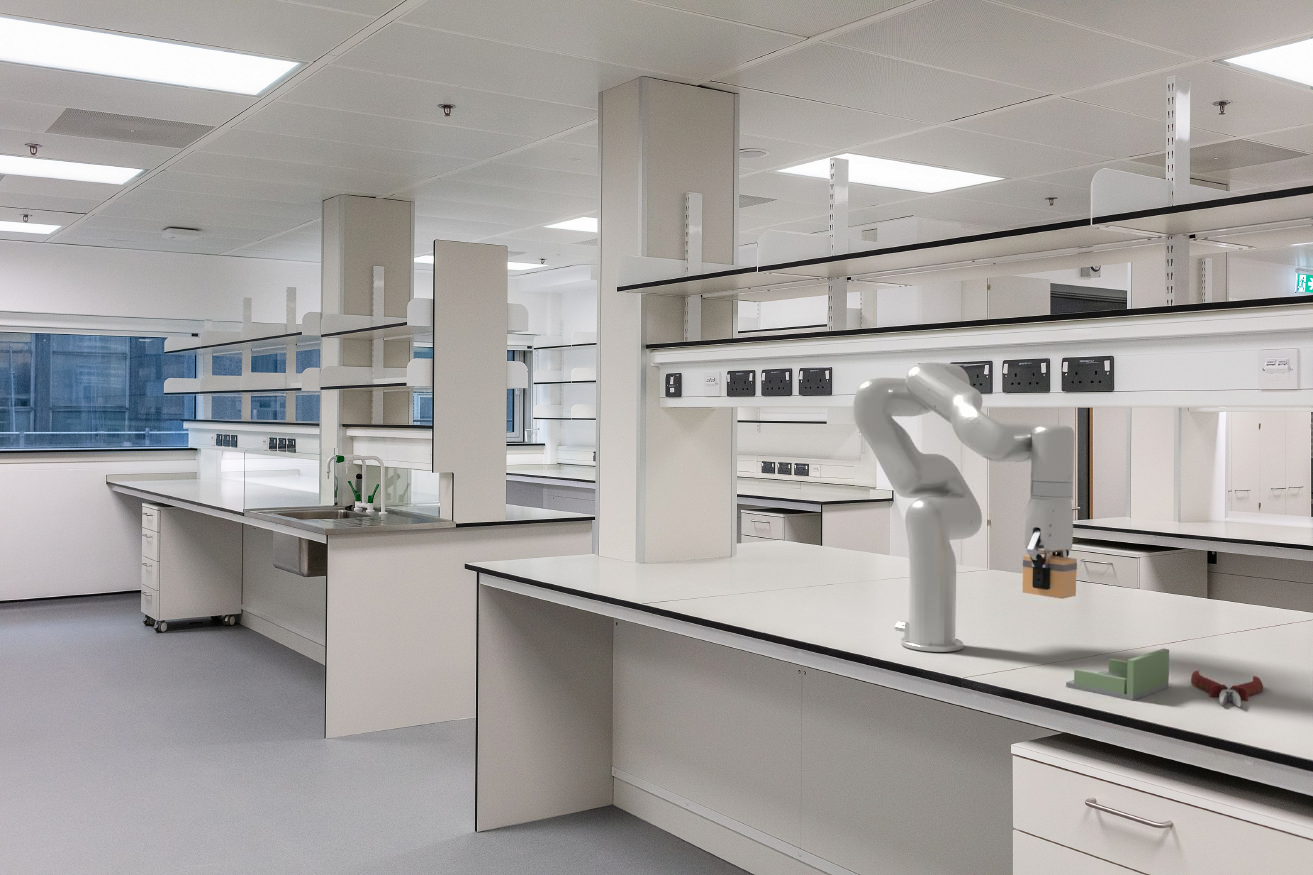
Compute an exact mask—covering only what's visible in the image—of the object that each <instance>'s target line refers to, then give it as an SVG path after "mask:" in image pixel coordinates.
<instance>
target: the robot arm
mask: <svg viewBox="0 0 1313 875" xmlns="http://www.w3.org/2000/svg"><path fill="white" fill-rule="evenodd" d="M970 383H971V381H970V377H969V375H968V373H967V371H965V369H964V368H963V367H961V366H960V365H957V364H955V363H947V362H946V363H945V362H944V363H943V362H933V361H932V362H930V361H929V362H921V363H918V364H915V365H914V366H912V367H911V368H910V369H909V371H908V372H907V374H906V375H905V378H901V377H900V378H899V377H877V378H870V379H869V380H866V381H864V382H863V383H862V384H861V385H860V386H859V387H858V389H856V392H855V395H854V398H853V406H852V408H853V409H852V410H853V417H854V421H855V424H856V426H857V428H858V430H859V432H860V434H861V435H862V437H863V438H864V440H865V442H867V444H868V445H869V447H870V448H871V450H872V452H873V453H874V456H875V458H876V460H877V461H878V464H879V465H880V467H881V469H882V470H883V472H884V474H885V476H886V478H887V479H888V481H889V483H890V485H891V487H892V489H893V490H894V491H895V493H896V494H897V495H899V496H900V497H902V498H906V499H915V500H914V501H913V502H911V503H910V504H909V506H908V507H907V509H906V512H905V517H904V523H905V530H906V535H907V541H908V552H909V582H908V583H909V588H908V590H909V594H908V595H909V596H908V598H909V599H908V600H909V601H908V610H909V611H908V621H903V620H898V621H897V623H896V625H895V626H894V630H895V631H896V632H903V633H904V636H903V637H902V638H901V640H900V641H901V642H900V643H901V645H902V646H903V647H905V648H907V649H911V650H916V651H922V652H934V653H949V652H957V651H960V650H962V649H963V648H964V643H963V641H962V640H960V639H959V638H957V637H956V631H957V630H956V620H957V619H956V618H957V614H956V613H957V612H956V611H957V610H956V609H957V561H956V555H955V552H954V550H953V547H952V544H951V541H955V540H956V541H957V540H964V539H968V538H971V537H973V536H975V535H976V534H978V532H979V531H980V529H981V527H982V524H983V515H982V510H981V506H980V505H979V503H978V500H977V499H976V497H975V495H974V493H973V492H972V489H970V487H969V485H968V484H967V482H966V480H965V478H964V476H963V475H962V474H961V472H960V470H959V469H958V468H959V467H958V466H957V465H956V464H955V463H954V462H953V461H952V460H951V459H949V458H948V457H946V456H944V455H943V454H939V453H923V452H921V451H920V450H919V449H918V448H917V446H916V445H915V443H914V441H913V440H912V438H911V436H910V434H909V433H908V432H907V430H906V429H905V428H904V427H903V426H902V425H901V424H899V423H898V422H897V421H896V420H895V419H894V418H893V417H916V416H922V415H925V414H928V413H931V412H934V413H936V414H937V415H939V417H941V418H943V419H944V420H946V422H948V423H950V424H951V425H952V426H951V427H952V429H953V431H954V433H955V435H956V437H957V439H958V440H959V441H960V442H961V443H962V444H963V445H964V446H967V448H969V449H970V450H972V451H973V452H974V453H976V454H978V455H979V456H981V457H982V458H985V459H987V460H989V461H991V462H994V463H1013V462H1014V463H1026V462H1031V464H1030V465H1031V466H1030V470H1031V471H1030V489H1029V490H1030V496H1029V500H1028V506H1027V511H1026V518H1025V519H1026V520H1025V527H1024V529H1025V530H1024V548H1025V550H1026V553H1027V555H1029V556H1030V559H1031V561H1032V567H1033V583H1032V586H1033V588H1039V589H1045V590H1048V589H1049V588H1050V568H1048V564H1049V559H1050V555H1051V556H1059V557H1067V558H1069V555H1070V552H1071V550H1072V548H1073V537H1074V522H1073V521H1074V520H1073V519H1074V518H1073V517H1074V514H1073V504H1072V501H1073V500H1074V469H1075V468H1074V467H1075V465H1074V463H1075V431H1074V429H1073V428H1072V427H1070V426H1068V425H1058V424H1057V425H1056V424H1052V425H1051V424H1049V425H1048V424H1046V425H1044V424H1043V425H1039V424H1034V423H1026V422H1025V423H1024V422H1023V423H1021V422H999V421H997V420H995V419H993V418H991V417H990V416H989V415H988V414H985V413H984V412H983V411H981V409H982V406H983V402H984V401H983V397H982V396H983V395H982V394H981V392H980V391H979V390H978V389H977V388H975V387H973V386H972V385H971V384H970ZM1041 554H1043V555H1044V559H1043V558H1042V556H1041Z"/></svg>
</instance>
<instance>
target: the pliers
mask: <svg viewBox="0 0 1313 875" xmlns="http://www.w3.org/2000/svg"><path fill="white" fill-rule="evenodd" d="M1190 682H1191V684H1192V686H1193V687H1194V688H1195V687H1196V688H1198V689H1200V690H1201V691H1204V692H1206V693H1209V697H1210V698H1218V700H1219V704H1220V706H1221V707H1222V706H1225V705H1226V704H1227V702H1232V704H1233V705H1234V706H1237V707H1239V708H1241V707H1242V701H1244V702H1247V701H1249V697H1252V696H1255V695H1259V694H1261V693H1262V692H1263V691H1264V684H1263V682H1262V681H1261V678H1260V677H1258V676H1256V675H1254V676H1253V677H1252V681H1248V682H1245V683H1241V684H1238V685H1237V684H1236V685H1232V686H1231V687H1230V688H1228V686H1227V685H1225V684H1221V683H1219V682H1217V681H1214V680H1212V679H1209V678H1208V677H1205V676H1202V675H1201V674H1200V670H1194V671H1193V672H1192V674H1191V676H1190Z"/></svg>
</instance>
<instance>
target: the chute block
mask: <svg viewBox="0 0 1313 875" xmlns="http://www.w3.org/2000/svg"><path fill="white" fill-rule="evenodd" d="M1041 556H1042V558H1043V559H1044V555H1043V554H1041ZM1022 558H1023V559H1022V591H1021V592H1022V593H1024V594H1030V595H1035V596H1036V595H1037V596H1043V597H1049V598H1055V599H1062V600H1063V599H1064V600H1065V599H1067V598H1072V597H1073V598H1074V597H1076V595H1077V594H1076V592H1077V570H1078V560H1077V558H1073V557H1059V556H1051V555H1050V559H1049V564H1048V568H1050V588H1049V589H1048V590H1045V589H1039V588H1033V586H1032V583H1033V567H1032V561H1031V559H1030V556H1029V554H1027V555H1023V557H1022Z"/></svg>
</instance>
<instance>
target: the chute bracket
mask: <svg viewBox="0 0 1313 875" xmlns="http://www.w3.org/2000/svg"><path fill="white" fill-rule="evenodd" d="M1169 674H1170V649H1169V648H1161V649H1157V650H1155V651H1151V652H1148V653H1144V654H1141V655H1139V656H1134V657H1132V658H1128V659H1127V661H1126V660H1121V659H1116V658H1109V659H1108V670H1100V671H1097V672H1095V671H1094V672H1093V671H1089V670H1083V669H1079V668H1075V669H1074V671H1073V679H1072V680H1069V681H1065V687H1066V688H1071V689H1074V690H1075V689H1076V690H1080V691H1085V692H1089V693H1095V694H1100V695H1104V696H1108V697H1110V696H1111V697H1114V698H1119V699H1122V700H1123V699H1124V700H1128V701H1129V700H1130V701H1135V700H1138V699H1141V698H1143V697H1146V696H1148V695H1151V694H1154V693H1157V692H1159V691H1163V690H1165V689H1167V688H1170V687H1169V682H1170V680H1169V679H1170V678H1169V677H1170V676H1169Z"/></svg>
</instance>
